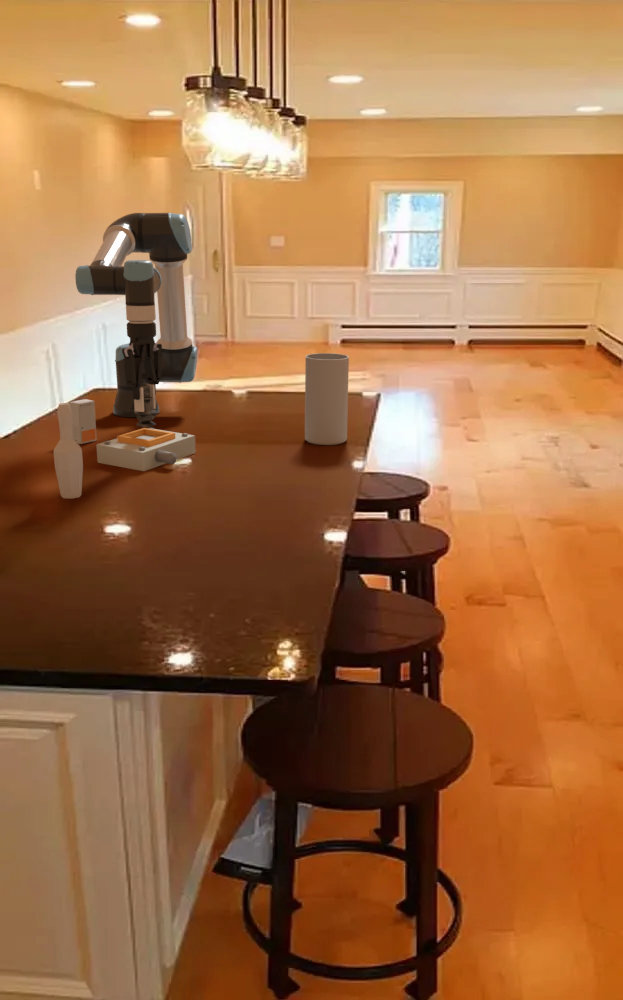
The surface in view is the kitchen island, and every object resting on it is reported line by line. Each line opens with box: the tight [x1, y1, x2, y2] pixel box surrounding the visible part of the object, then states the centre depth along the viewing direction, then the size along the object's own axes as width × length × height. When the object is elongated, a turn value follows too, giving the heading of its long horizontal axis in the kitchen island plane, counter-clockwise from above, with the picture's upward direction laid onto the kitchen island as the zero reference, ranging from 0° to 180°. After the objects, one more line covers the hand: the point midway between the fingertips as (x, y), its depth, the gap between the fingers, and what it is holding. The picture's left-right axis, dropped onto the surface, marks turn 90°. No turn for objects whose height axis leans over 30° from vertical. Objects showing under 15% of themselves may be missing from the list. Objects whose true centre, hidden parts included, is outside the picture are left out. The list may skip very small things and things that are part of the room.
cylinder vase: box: [304, 352, 350, 446], centre depth 257 cm, size 12×12×25 cm
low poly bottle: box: [53, 402, 84, 499], centre depth 203 cm, size 6×6×22 cm
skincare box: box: [68, 398, 97, 445], centre depth 254 cm, size 6×4×12 cm
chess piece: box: [135, 381, 157, 428], centre depth 235 cm, size 6×6×12 cm
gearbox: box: [95, 427, 197, 472], centre depth 238 cm, size 22×21×6 cm
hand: (145, 409), depth 236 cm, fingers closed on chess piece, 4 cm apart
